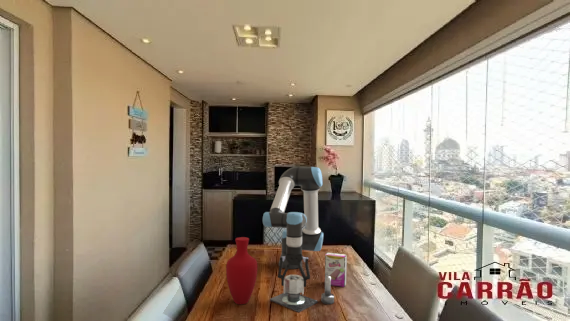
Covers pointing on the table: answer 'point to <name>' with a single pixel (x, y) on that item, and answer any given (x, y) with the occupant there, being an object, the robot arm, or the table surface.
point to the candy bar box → (336, 268)
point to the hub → (294, 301)
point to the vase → (241, 272)
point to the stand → (327, 292)
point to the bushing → (293, 284)
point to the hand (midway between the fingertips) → (293, 292)
